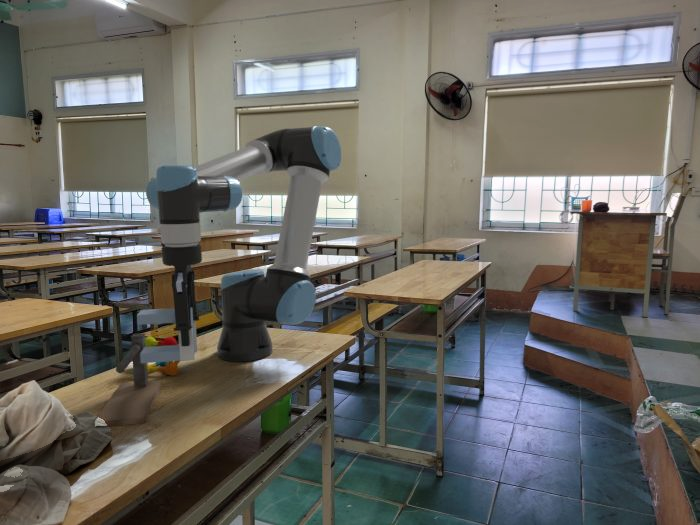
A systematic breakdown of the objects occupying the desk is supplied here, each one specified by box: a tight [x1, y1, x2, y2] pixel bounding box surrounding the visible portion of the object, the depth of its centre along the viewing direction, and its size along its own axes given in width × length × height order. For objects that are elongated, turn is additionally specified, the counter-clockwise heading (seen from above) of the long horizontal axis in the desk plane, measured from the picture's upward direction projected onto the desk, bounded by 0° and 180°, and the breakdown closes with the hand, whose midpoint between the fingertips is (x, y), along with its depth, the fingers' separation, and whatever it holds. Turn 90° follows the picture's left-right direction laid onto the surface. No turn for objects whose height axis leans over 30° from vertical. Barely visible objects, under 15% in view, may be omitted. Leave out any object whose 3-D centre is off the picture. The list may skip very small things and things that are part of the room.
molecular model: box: [145, 336, 181, 376], centre depth 123 cm, size 11×10×15 cm
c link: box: [136, 307, 196, 364], centre depth 100 cm, size 10×4×10 cm, turn 100°
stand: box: [97, 333, 163, 427], centre depth 104 cm, size 9×19×13 cm, turn 10°
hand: (189, 355), depth 102 cm, fingers closed on c link, 4 cm apart
